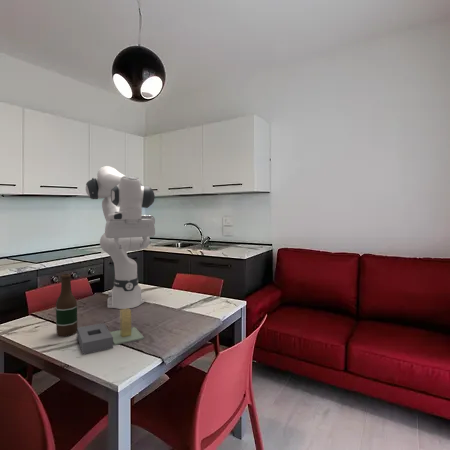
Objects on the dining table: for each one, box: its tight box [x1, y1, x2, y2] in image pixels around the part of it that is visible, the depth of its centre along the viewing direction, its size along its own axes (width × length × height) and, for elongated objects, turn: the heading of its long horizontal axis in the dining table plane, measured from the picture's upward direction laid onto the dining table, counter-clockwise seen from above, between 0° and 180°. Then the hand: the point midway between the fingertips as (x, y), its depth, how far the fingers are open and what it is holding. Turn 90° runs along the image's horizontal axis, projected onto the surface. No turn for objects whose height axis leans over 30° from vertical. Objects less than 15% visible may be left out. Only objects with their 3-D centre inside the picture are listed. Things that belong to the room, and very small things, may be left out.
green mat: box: [109, 326, 145, 346], centre depth 124 cm, size 12×11×1 cm
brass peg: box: [119, 308, 132, 337], centre depth 124 cm, size 4×4×10 cm
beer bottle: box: [55, 273, 78, 338], centre depth 126 cm, size 8×8×24 cm
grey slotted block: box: [76, 322, 114, 355], centre depth 118 cm, size 16×10×4 cm, turn 32°
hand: (130, 248), depth 131 cm, fingers open, 8 cm apart
